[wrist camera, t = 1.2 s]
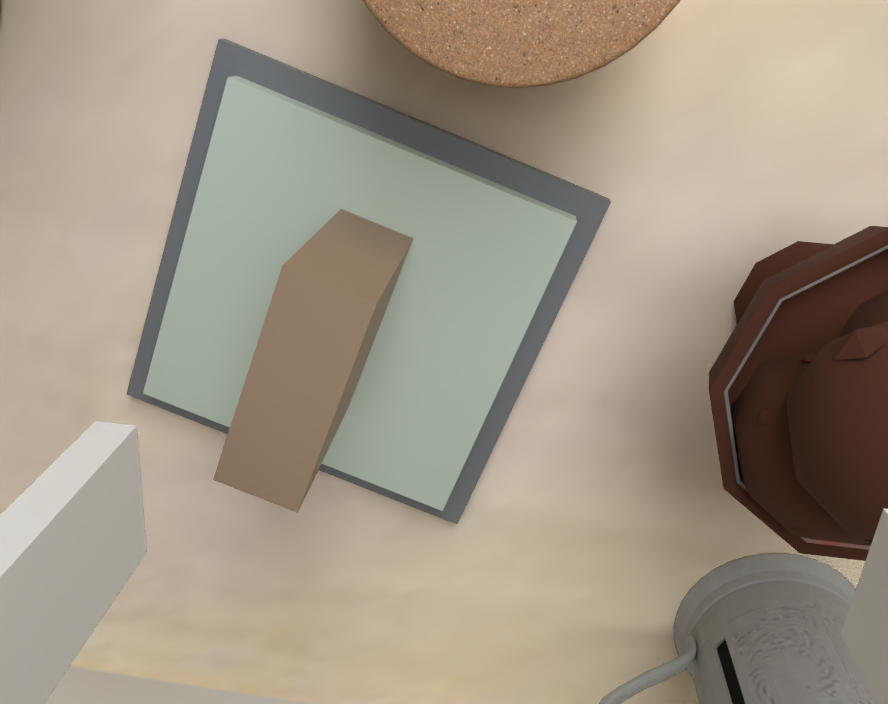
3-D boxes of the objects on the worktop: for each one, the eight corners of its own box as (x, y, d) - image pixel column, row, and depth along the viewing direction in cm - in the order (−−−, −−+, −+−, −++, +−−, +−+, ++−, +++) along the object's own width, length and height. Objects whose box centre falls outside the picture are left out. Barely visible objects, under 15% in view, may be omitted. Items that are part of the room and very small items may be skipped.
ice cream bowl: (689, 451, 36) (786, 721, 22) (648, 202, 32) (734, 337, 18) (952, 408, 34) (1240, 674, 20) (942, 137, 30) (1286, 234, 16)
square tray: (132, 388, 38) (126, 394, 37) (224, 38, 31) (218, 38, 31) (458, 516, 38) (457, 524, 38) (609, 199, 32) (610, 202, 32)
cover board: (152, 383, 37) (40, 490, 28) (236, 75, 31) (128, 94, 23) (444, 498, 37) (418, 635, 29) (575, 215, 32) (589, 284, 24)
